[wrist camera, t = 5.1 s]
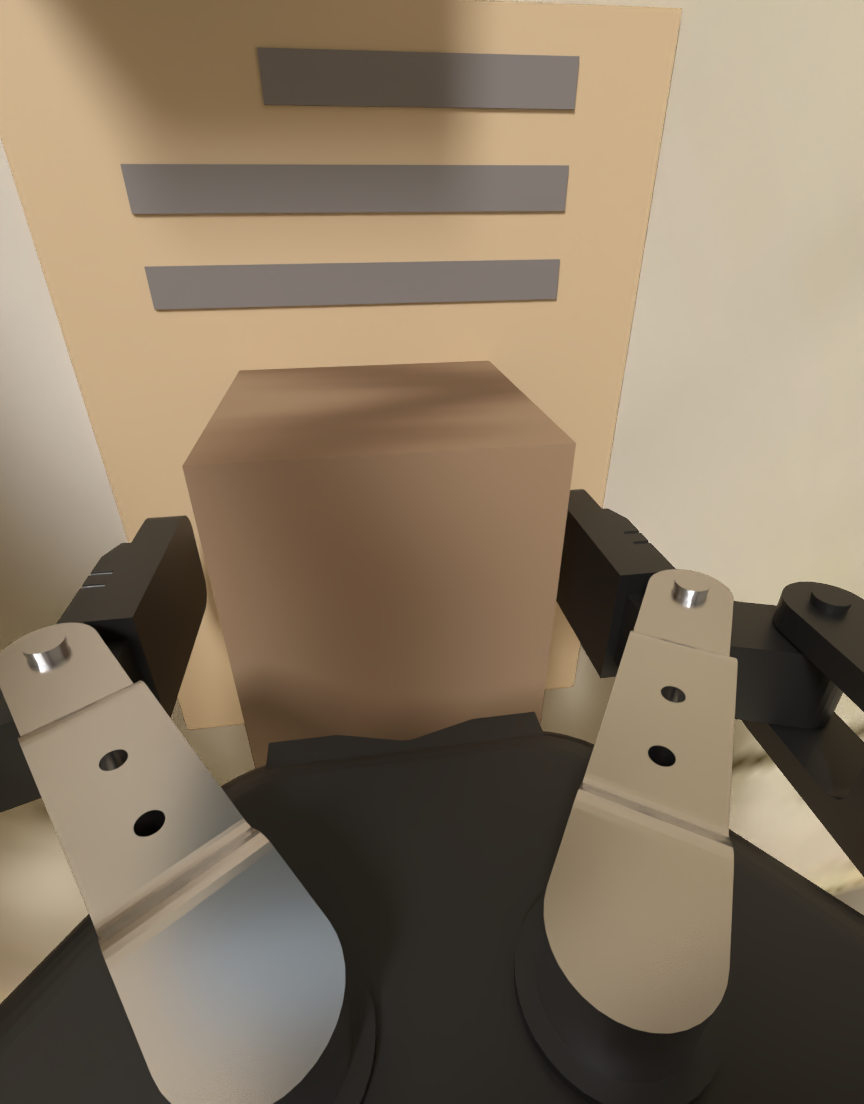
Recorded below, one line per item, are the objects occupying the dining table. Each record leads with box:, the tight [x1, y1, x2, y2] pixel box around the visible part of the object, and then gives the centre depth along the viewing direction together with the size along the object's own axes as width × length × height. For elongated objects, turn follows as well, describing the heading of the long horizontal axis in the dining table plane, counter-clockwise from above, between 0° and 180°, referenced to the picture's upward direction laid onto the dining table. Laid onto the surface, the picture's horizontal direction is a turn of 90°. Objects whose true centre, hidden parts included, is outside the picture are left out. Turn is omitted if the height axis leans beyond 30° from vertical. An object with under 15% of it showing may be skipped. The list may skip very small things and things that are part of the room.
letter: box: [0, 0, 682, 730], centre depth 13 cm, size 11×15×1 cm
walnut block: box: [182, 361, 576, 769], centre depth 11 cm, size 5×7×5 cm
